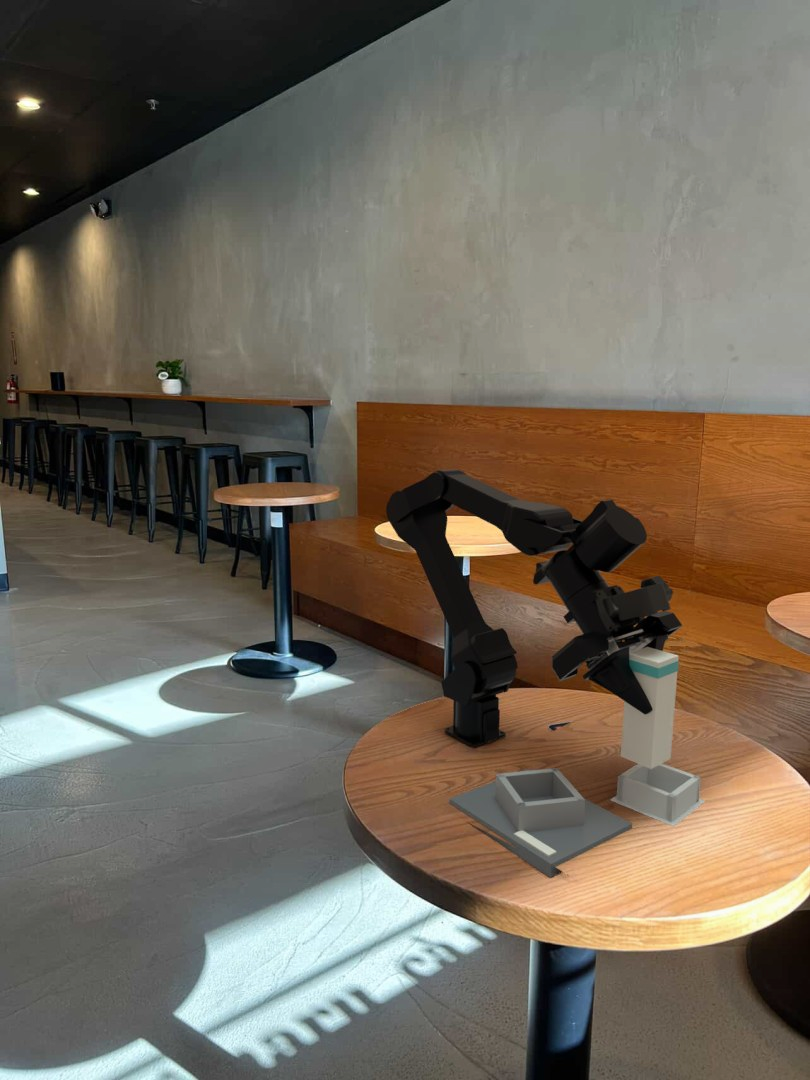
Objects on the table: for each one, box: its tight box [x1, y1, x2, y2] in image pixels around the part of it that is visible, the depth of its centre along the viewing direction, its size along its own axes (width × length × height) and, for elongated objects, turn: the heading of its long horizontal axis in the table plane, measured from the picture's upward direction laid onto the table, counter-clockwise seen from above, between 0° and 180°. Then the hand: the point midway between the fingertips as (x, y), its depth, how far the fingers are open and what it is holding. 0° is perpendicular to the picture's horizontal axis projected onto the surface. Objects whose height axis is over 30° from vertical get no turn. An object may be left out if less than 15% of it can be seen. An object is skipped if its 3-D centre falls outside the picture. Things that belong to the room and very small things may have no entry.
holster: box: [609, 763, 706, 827], centre depth 91 cm, size 8×8×4 cm
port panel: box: [448, 767, 633, 878], centre depth 87 cm, size 16×13×4 cm
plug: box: [620, 647, 680, 769], centre depth 88 cm, size 4×4×12 cm
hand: (660, 707), depth 86 cm, fingers closed on plug, 4 cm apart
